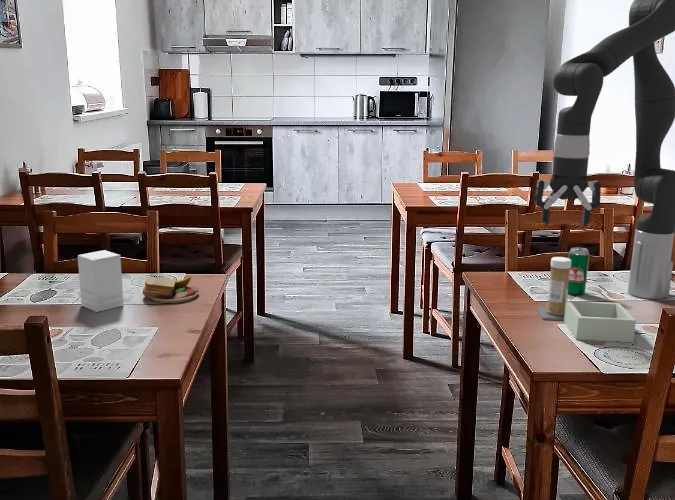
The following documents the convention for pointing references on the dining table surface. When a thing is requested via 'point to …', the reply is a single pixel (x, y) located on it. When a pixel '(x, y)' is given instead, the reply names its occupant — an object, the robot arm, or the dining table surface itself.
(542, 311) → the coaster
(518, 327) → the dining table surface
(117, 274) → the supplement box
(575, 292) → the soda can
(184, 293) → the toy sandwich meal
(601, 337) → the crate
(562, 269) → the sprinkles bottle
